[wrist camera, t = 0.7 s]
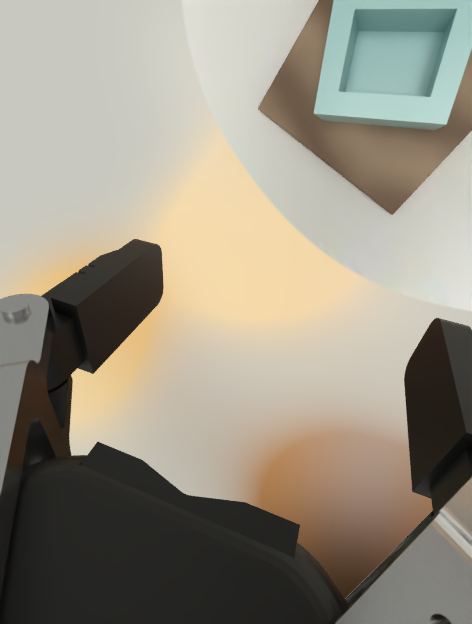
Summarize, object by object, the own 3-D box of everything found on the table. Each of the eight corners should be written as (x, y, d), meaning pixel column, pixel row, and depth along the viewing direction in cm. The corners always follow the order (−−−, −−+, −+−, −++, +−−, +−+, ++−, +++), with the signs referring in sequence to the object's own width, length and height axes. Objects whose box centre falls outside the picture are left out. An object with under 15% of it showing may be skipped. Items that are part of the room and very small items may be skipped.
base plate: (387, -111, 24) (387, -121, 23) (567, 24, 23) (575, 19, 23) (260, 110, 32) (257, 108, 32) (391, 213, 32) (392, 215, 31)
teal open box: (344, 11, 27) (337, -21, 22) (473, 10, 24) (496, -25, 19) (323, 120, 30) (313, 113, 25) (434, 130, 28) (446, 124, 23)
